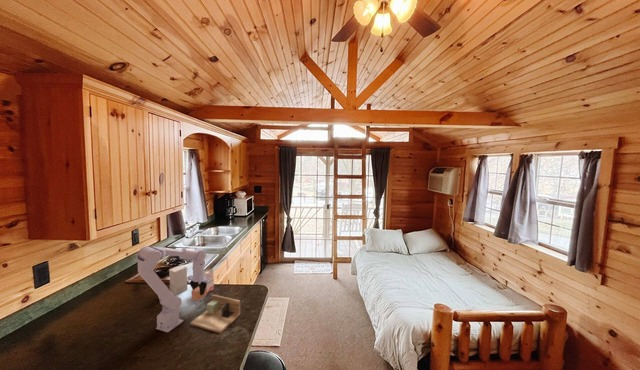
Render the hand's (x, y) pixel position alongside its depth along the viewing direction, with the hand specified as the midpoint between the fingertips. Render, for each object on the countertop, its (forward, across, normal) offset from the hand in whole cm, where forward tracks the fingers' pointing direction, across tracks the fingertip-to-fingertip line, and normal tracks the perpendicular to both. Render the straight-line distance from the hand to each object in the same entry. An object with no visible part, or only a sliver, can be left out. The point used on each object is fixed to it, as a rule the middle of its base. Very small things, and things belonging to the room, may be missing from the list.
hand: (199, 293), depth 139 cm
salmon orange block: (+2, 0, 0) cm, 2 cm away
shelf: (+9, -15, +4) cm, 18 cm away
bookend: (+8, -19, 0) cm, 21 cm away
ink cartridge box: (+10, +12, -17) cm, 23 cm away
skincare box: (+10, +28, -11) cm, 31 cm away
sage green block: (+8, -10, 0) cm, 13 cm away
